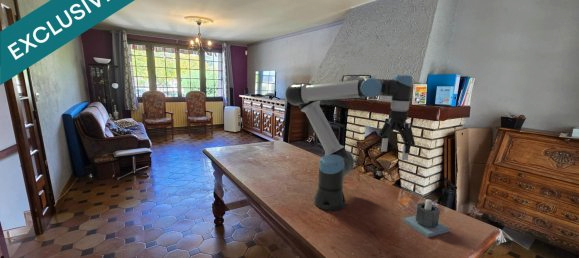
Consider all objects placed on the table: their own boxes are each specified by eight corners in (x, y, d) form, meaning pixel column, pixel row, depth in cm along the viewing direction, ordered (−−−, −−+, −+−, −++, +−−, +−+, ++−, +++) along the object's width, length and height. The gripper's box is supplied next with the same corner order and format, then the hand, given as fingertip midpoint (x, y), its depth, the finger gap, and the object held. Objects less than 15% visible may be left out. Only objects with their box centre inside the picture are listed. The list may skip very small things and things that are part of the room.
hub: (427, 227, 98) (429, 213, 97) (411, 217, 105) (412, 204, 104) (442, 224, 101) (444, 210, 100) (425, 214, 108) (426, 201, 107)
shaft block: (427, 237, 96) (431, 210, 94) (403, 221, 107) (406, 196, 105) (449, 231, 100) (453, 205, 98) (424, 216, 111) (427, 192, 109)
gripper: (428, 113, 102) (421, 163, 106) (387, 107, 125) (382, 147, 129) (414, 114, 99) (407, 164, 103) (374, 107, 122) (370, 148, 126)
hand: (393, 155), depth 116 cm, fingers open, 13 cm apart
